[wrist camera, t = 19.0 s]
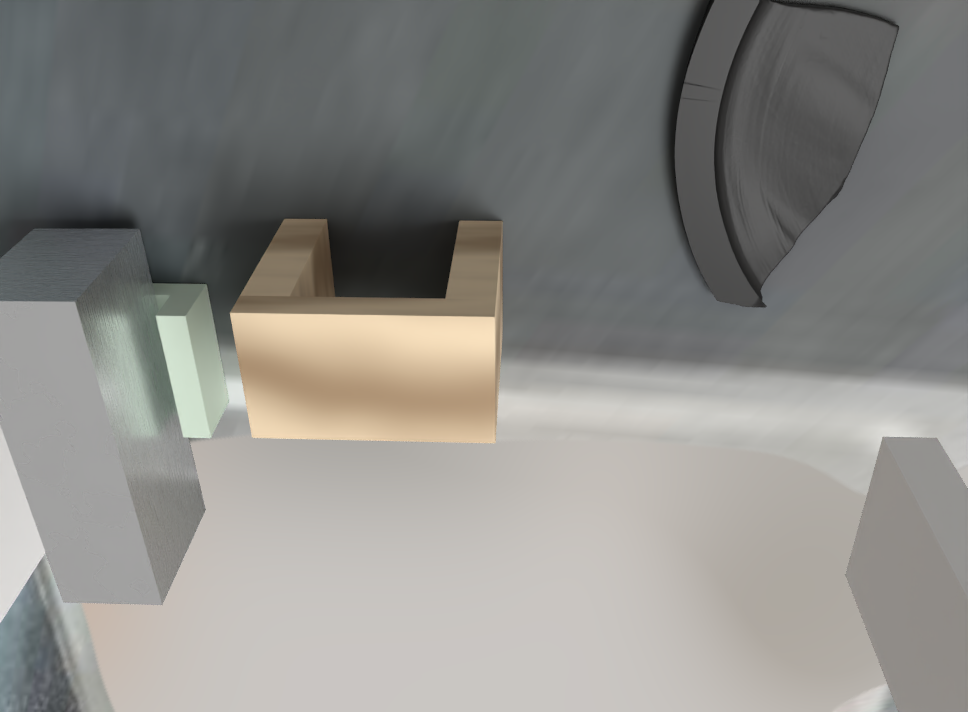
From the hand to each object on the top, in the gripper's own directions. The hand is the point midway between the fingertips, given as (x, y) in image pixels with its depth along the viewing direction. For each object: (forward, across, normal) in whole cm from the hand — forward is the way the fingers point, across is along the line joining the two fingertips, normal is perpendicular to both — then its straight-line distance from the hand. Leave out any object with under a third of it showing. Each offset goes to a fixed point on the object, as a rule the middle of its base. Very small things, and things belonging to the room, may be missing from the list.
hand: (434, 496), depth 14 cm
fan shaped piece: (+29, +11, -4) cm, 32 cm away
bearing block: (+29, -5, -11) cm, 31 cm away
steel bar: (+28, -19, -17) cm, 37 cm away
